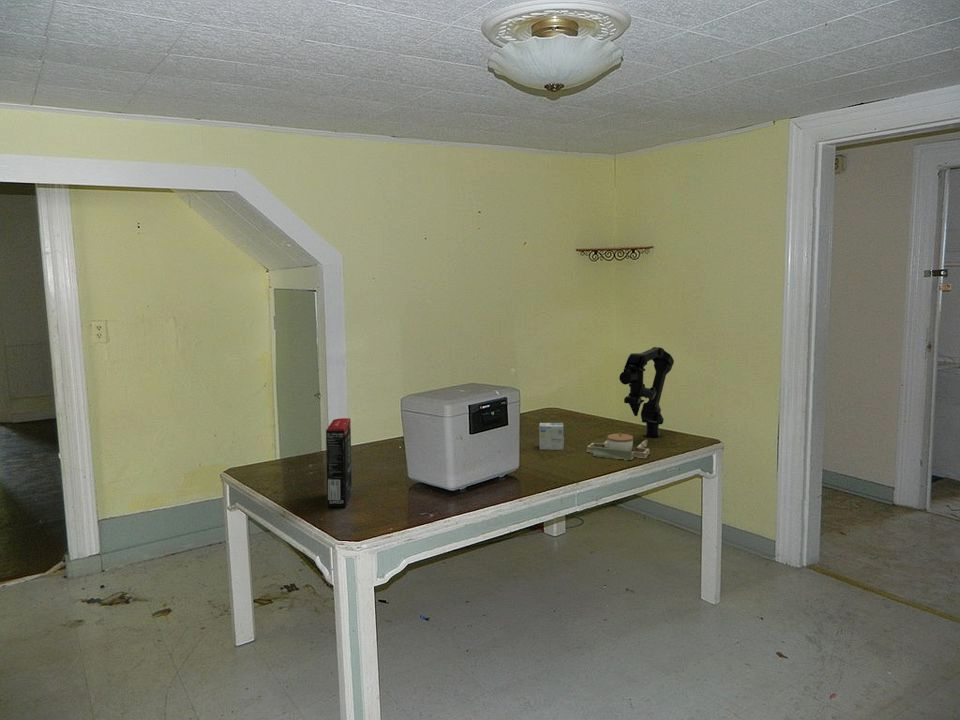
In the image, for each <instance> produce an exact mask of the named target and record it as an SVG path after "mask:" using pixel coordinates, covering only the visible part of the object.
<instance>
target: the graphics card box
mask: <svg viewBox="0 0 960 720" xmlns="http://www.w3.org/2000/svg"><path fill="white" fill-rule="evenodd" d="M351 422H352V420H351V418H347V417H346V418H344V417H343V418H335V419H333V420H332V421H331V422H330V424H329V426H328V427H327V428H326V430H325V444H326V445H325V447H326V448H325V451H326V455H325V456H326V458H325V459H326V495H327V497H326V499H327V500H326V501H327V503H326V505H327V506H326V507H327V508H346V507H347V505H348V503H349V500H350V497H351V495H352V492H353V490H352V435H351V434H352V431H351V430H352V429H351V428H352V427H351Z"/></svg>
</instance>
